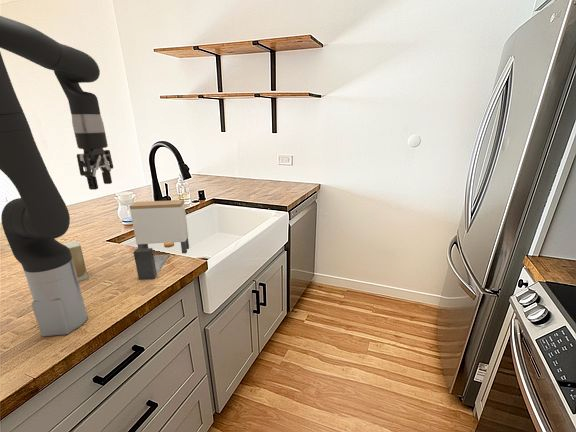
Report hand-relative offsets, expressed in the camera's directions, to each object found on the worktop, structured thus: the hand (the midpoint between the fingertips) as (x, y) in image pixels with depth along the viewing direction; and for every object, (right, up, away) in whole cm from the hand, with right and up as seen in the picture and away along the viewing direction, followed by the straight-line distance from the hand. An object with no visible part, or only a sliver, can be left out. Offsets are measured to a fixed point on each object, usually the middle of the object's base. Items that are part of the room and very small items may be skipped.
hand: (101, 186), depth 90 cm
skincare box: (-13, -30, +9) cm, 34 cm away
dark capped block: (+10, -27, +15) cm, 33 cm away
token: (+7, -22, +33) cm, 41 cm away
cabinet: (+8, -23, +27) cm, 37 cm away
